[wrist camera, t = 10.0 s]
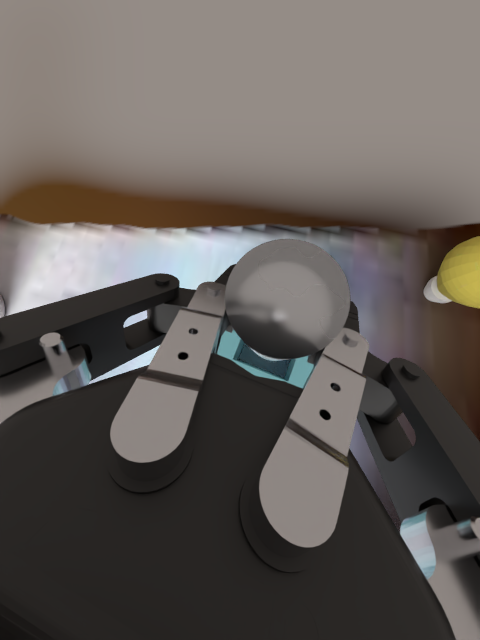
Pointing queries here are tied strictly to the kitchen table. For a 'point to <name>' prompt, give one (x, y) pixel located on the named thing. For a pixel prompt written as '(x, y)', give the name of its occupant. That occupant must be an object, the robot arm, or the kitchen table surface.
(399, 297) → the kitchen table surface
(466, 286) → the light bulb
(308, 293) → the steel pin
